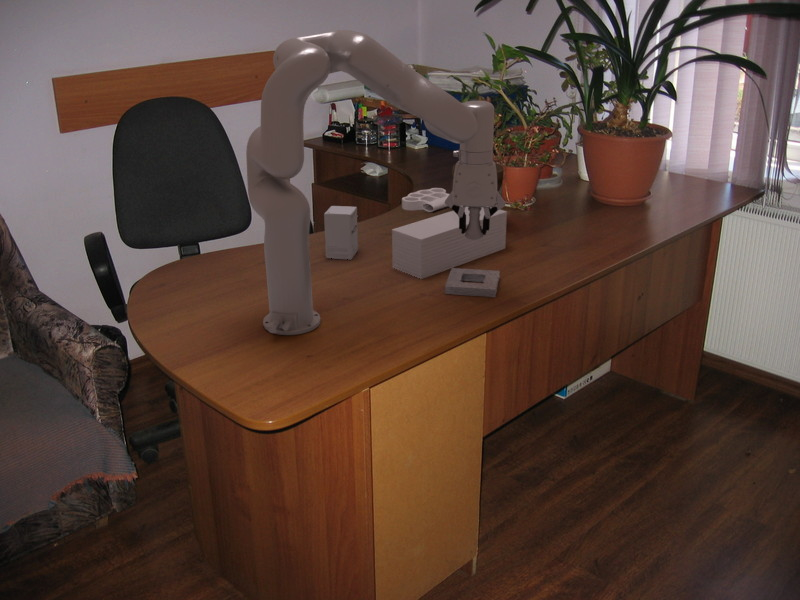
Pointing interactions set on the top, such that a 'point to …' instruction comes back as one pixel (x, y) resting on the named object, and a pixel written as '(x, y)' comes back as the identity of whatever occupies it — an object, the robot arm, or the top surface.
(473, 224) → the rook chess piece
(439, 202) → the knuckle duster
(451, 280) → the socket plate
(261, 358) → the top surface
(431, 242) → the long grey block
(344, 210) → the supplement box
